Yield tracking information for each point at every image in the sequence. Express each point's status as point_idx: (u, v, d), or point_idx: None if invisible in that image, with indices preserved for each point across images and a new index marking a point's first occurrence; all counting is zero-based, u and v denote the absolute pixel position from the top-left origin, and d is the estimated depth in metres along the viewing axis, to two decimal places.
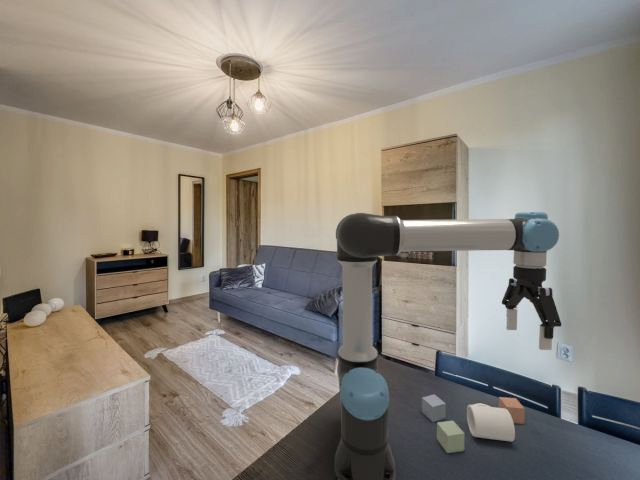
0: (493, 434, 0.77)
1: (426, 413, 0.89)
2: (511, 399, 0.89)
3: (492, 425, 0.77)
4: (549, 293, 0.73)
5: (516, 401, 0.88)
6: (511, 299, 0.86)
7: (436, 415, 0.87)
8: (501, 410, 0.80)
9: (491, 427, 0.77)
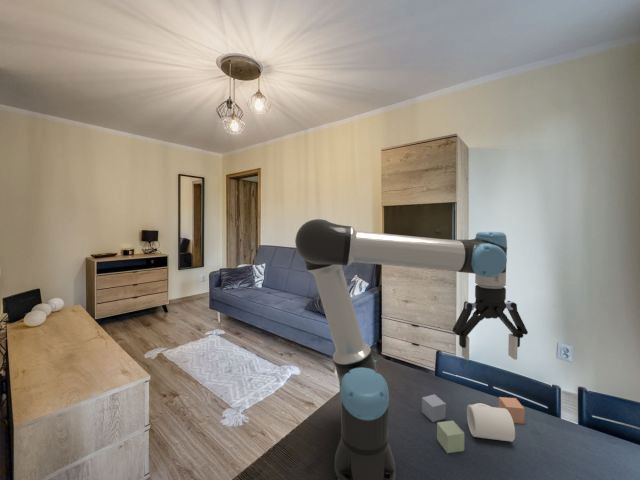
0: (493, 434, 0.77)
1: (426, 413, 0.89)
2: (511, 399, 0.89)
3: (492, 425, 0.77)
4: (466, 308, 0.80)
5: (516, 401, 0.88)
6: None
7: (436, 416, 0.87)
8: (501, 410, 0.80)
9: (491, 427, 0.77)
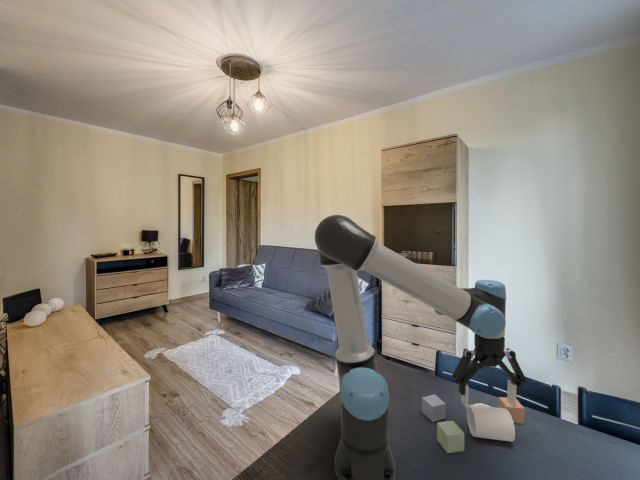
0: (493, 434, 0.77)
1: (426, 413, 0.89)
2: None
3: (492, 425, 0.77)
4: (466, 356, 0.81)
5: (516, 401, 0.88)
6: None
7: (436, 416, 0.87)
8: (501, 410, 0.80)
9: (491, 427, 0.77)
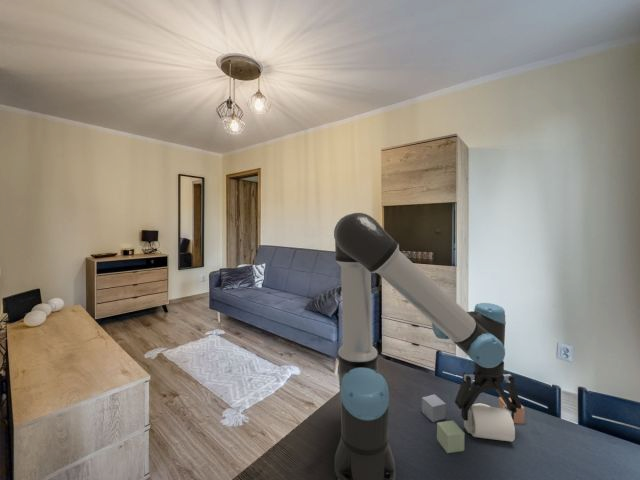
0: (493, 434, 0.77)
1: (426, 413, 0.89)
2: None
3: (492, 425, 0.77)
4: (465, 380, 0.81)
5: None
6: None
7: (436, 416, 0.87)
8: (501, 410, 0.80)
9: (491, 427, 0.77)
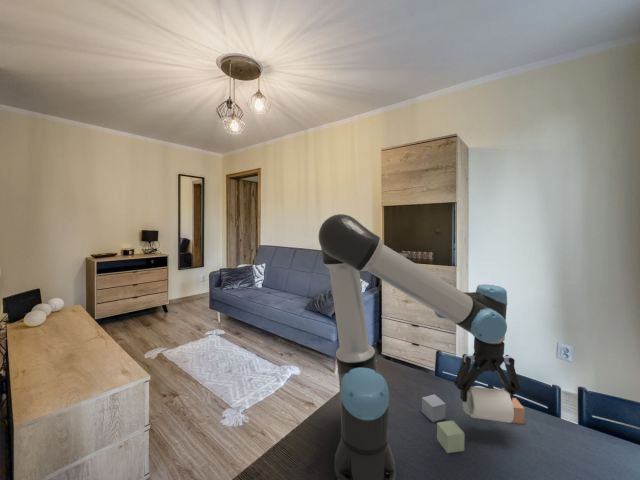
0: (492, 414, 0.77)
1: (426, 413, 0.89)
2: None
3: (491, 405, 0.77)
4: (465, 361, 0.81)
5: (516, 401, 0.88)
6: None
7: (436, 416, 0.87)
8: (500, 391, 0.80)
9: (490, 407, 0.77)
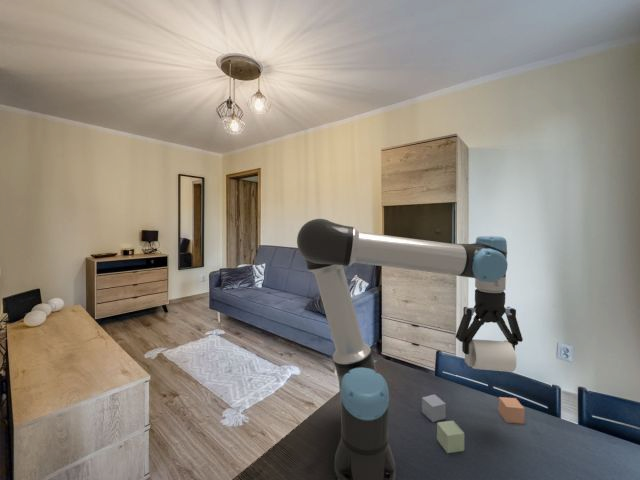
0: (494, 364, 0.76)
1: (426, 413, 0.89)
2: (511, 399, 0.89)
3: (493, 355, 0.76)
4: (466, 313, 0.80)
5: (516, 401, 0.88)
6: None
7: (436, 416, 0.87)
8: (502, 342, 0.79)
9: (492, 357, 0.76)
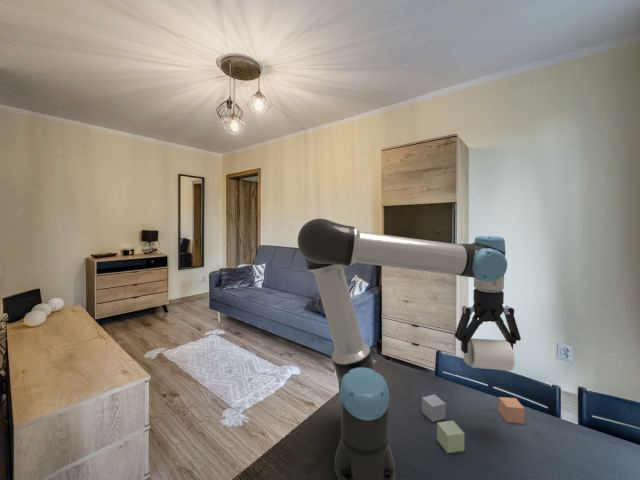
0: (493, 362, 0.77)
1: (426, 413, 0.89)
2: (511, 399, 0.89)
3: (492, 353, 0.77)
4: (465, 312, 0.81)
5: (516, 401, 0.88)
6: None
7: (436, 415, 0.87)
8: (501, 341, 0.80)
9: (491, 355, 0.77)
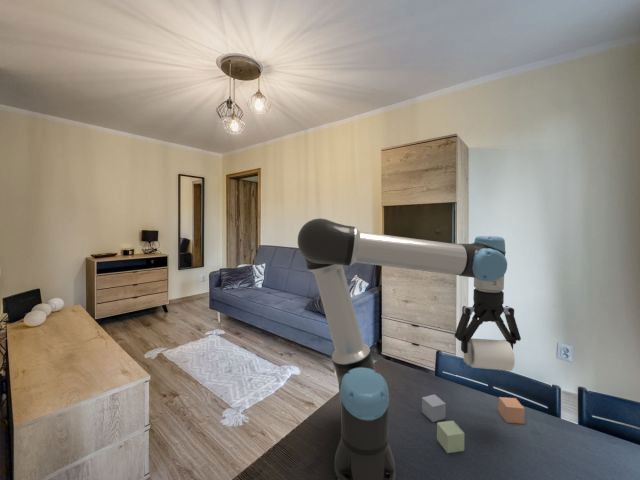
0: (493, 362, 0.77)
1: (426, 413, 0.89)
2: (511, 399, 0.89)
3: (492, 353, 0.77)
4: (465, 312, 0.81)
5: (516, 401, 0.88)
6: None
7: (436, 416, 0.87)
8: (501, 341, 0.80)
9: (491, 355, 0.77)
